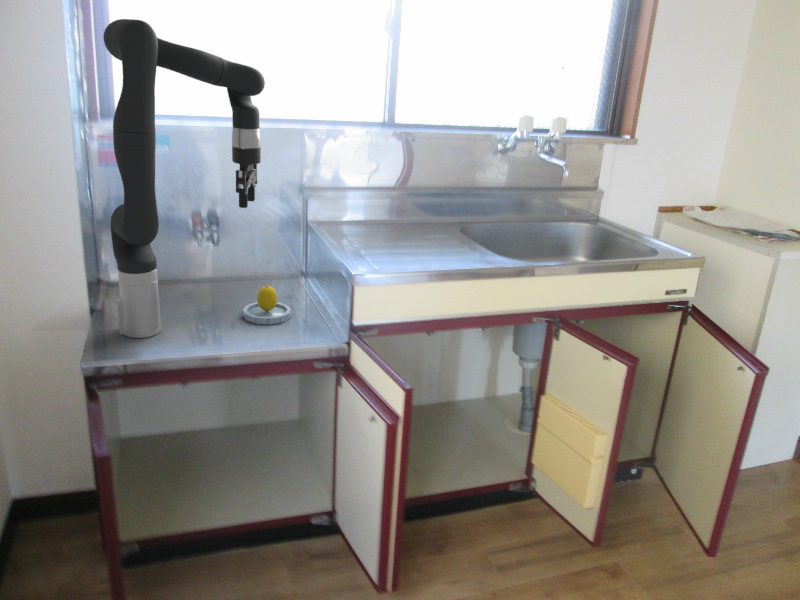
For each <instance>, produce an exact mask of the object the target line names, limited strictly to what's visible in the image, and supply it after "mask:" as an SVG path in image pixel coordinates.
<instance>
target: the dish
mask: <svg viewBox="0 0 800 600" xmlns="http://www.w3.org/2000/svg"><path fill="white" fill-rule="evenodd" d="M291 316H292V308H291V307H289V305H288V304H285V303H282V302H279V301H277V304H276V306H275V307H274V308H273V309H272V310H270V311H269V312H266V311H265V310H263V309H261V308H260V307H259V305H258V301H257V302H253V303H250V304H247V305H245V306H244V308H243V309H242V317H243V319H244V320H245V321H247V322H249V323H252V324H256V325H275V324H276V325H277V324H282V323H284V322H286V321H288V320H290V318H291Z"/></svg>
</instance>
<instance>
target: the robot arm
mask: <svg viewBox="0 0 800 600" xmlns="http://www.w3.org/2000/svg"><path fill="white" fill-rule="evenodd" d="M103 43H104V46H105V48H106V50H107V51H108V53H109V54H110V55H112V56H113V57H114V58H115V59H117V60H119V61H121V67H122V68H121V69H122V87H121V93H120V96H119V99H118V101H117V105H116V108H115V112H114V115H113V121H112V136H113V137H112V142H113V151H114V157H115V162H116V166H117V168H118V172H119V176H120V177H121V181H122V186H123V187H122V188H123V203H122V204H120V205H119V206H117V207H116V208H115V209H114V210H113V212H112V214H111V216H110V235H111V243H112V251H113V252H112V253H113V256H114V259H115V261H116V265H117V277H118V289H119V297H118V298H117V299H116V303H117V304H116V305H117V307H116V308H117V315H118V317H117V318H118V329H119V335H123V336H126V337H128V338H135V339H142V338H143V339H144V338H149V337H150V338H151V337H154V336H155V335H157V334H159V333H161V328H162V326H161V323H162V322H161V313H160V312H161V310H160V295H159V281H158V264H157V262H158V261H157V257H156V255H155V253H154V251H153V248H152V246H151V243H152V242H154V240H155V239H156V237H157V235H158V233H159V224H160V222H159V221H160V220H159V214H158V207H157V199H156V198H157V197H156V101H155V100H156V99H155V98H156V95H155V92H156V91H155V90H156V89H155V88H156V78H157V77H156V75H157V74H156V73H157V67H159V68H163V69H166V70H168V71H169V70H170V71H172V72H174V73H178V74H181V75H183V76H186V77H189V78H191V79H194V80H196V81H200V82H203V83H206V84H209V85H212V86H215V87H223V88H226V91H227V96H228V99H229V105H230V106H231V110H232V116H231V117H232V132H231V151H232V152H231V153H232V154H231V156H232V157H231V159H232V162H233V163H235V164H238V165H239V169H236V170H235V192H236V193H237V194H238V207H239V208H243V209H247V208H248V206H249V205H248V202H254V201H255V199H256V195H255V194H256V193H255V192H256V189H255V188H256V187H257V184H258V169H257V168H258V164H260V163H261V159H262V158H261V147H262V146H261V131H260V111H259V108H258V107H257V106H256V105H254V104H253V102H252V97H254V96H258V95H260V94H262V92H263V90H264V89H265V87H266V86H265V84H266V82H265V78H264V75H263V74H262V73H261V71H259V70H258V69H256V68H255V67H252V66H249V65H245V64H242V63H239V62H234V61H231V60H230V61H229V60H228V59H226V58H222V57H221V56H218V55H216V54H213V53H209V52H206V51H204V50H201V49H197V48H194V47H190V46H185V45H181V44H177V43H175V42H172V41H171V42H170V41H167V40H164V39H162V38H159V37H157V34H156V32H155V30H154V28H153V27H152V26H151V25H150V24H149V23H148V22H146V21H144V20H140V19H130V18H128V19H127V18H121V19H116V20H114V21H112V22H110V23H109V24H108V25H107V26H106V27H105V29H104V32H103Z"/></svg>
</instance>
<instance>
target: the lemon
mask: <svg viewBox="0 0 800 600" xmlns="http://www.w3.org/2000/svg"><path fill="white" fill-rule="evenodd" d="M256 299H257V300H256V301H257V302H258V305H259V307H260V308H261V309H263V310H265V311H266V312H269V311H270V310H272V309H273V308H274V307H275V306H276V304H277V303H278V294H277V291H276V289H274V287H272V286H270V285H268V284H266V285H265V286H263V287H261V288H260V289H259V290H258V292H257V297H256Z"/></svg>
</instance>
